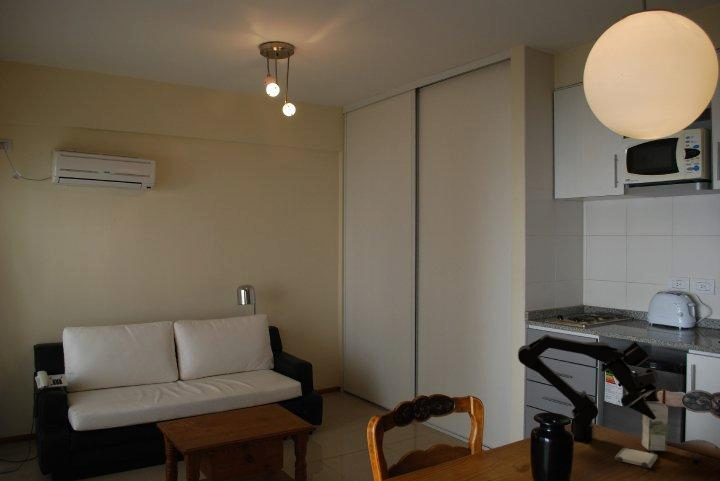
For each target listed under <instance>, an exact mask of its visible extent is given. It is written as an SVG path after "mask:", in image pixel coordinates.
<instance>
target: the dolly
mask: <svg viewBox="0 0 720 481" xmlns="http://www.w3.org/2000/svg"><path fill="white" fill-rule="evenodd" d="M657 459H658V454H656V452H655V451H649V452H646V451H641V450H636V449H632V447H630V446H626V447H622V448H621V449H620V451H618V452H617V454H616V455H615V456H614V460H615V461H617V463H622V462H623V463H628V464H631V465H636V466H641V467H642V468H644V469H647V468H650V469H651V468H652V466H653V465H654V464H655V462H656V460H657Z"/></svg>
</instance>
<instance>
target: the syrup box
mask: <svg viewBox="0 0 720 481" xmlns="http://www.w3.org/2000/svg"><path fill="white" fill-rule="evenodd" d="M646 403H647V405H648V406H649V408H650V409H651V410H652V412H653V413H654V415H655V417H656V419H654V420H653V419H651V418H649V417H647V416H645V415H643V414H642V413H641V416H642V417H641V418H642V419H641V422H642V423H641V445H642V446H643V447H644V448H645V449H646V450H648V451H649V452H667V449H668V447H667V446H668V419H669V418H668V416H669V415H668V414H669V407H668V406H667V405H666V404H664V402H661V401H659V402H648V401H646Z"/></svg>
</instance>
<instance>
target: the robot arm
mask: <svg viewBox="0 0 720 481" xmlns="http://www.w3.org/2000/svg"><path fill="white" fill-rule="evenodd" d="M548 349H553V350H559V351H563V352H569V353H574V354H580V355H583V356H587V357H589V358H592V359H594V360H597V361H598V362H602V363H601V372H602V373H605V372H607V371H609V373H611V375H612V376H613V377H614V379H615V380H616V381H617V382H618V383H617V385H618V386H619V388H620V387H622V388H623V389H624V390H625V392H626V394H625V395H624V396H622V397H621V398H620V399H621V400H620V402H621V404H622V406H623V407H624V408H626V407H628V408H629V409H632V410H633V411H636V412H638V413H640V414H641V415H642V414H643V415H645V416H647V417H649V418H651V419H653V420H654V419H656V417H655V415H654V413H653V412H652V410H651V409H650V408H649V406H648V405H647V403H646V401H648V402H660V399H659V397H658V391H659V389H658V388H659V387H660V386H659V384H658V383H657V382H658V381H660V377H659V375H660V373H659V372H658V371H657V370H655V369H654V368H652V367H651V368H648V369H646V370H645V373H643V374H640V373H639V372H637V371H635V372H634V371H633V370H632V369H631V368H630V367H638V366H640V365H641V364H643V363H644V362H645V361H646V360H648V359H649V358H650V357H651V356H650V354H648V352H647V351H646V350H645V349H644V348H643V347H641V346H640V344H638V342H637V341H635V340H633V341H631V342H630V344H629V345H627V346H626V347H625V348H622V349H620V348H617V347H613V346H611V345H610V343H608V342H605V341H601V342H600V341H590V342H589V341H588V342H584V341H579V340H573V339H568V338H562V337H556V336H551V335H550V334H544V335H543V336H541V337H540V338H538V339H537V340H534V341H533V342H531V343H529V344H528V345H527V344H525V345H521V346H520V347H519V348H518V351H517V359H518V361H519V362H520V364H522V365H523V366H525V367H527V368H528V369H529V370H532V371H534V372H536V373H538V374H539V375H540V376H541V377H543V378H544V380H546V381H547V382H548V383H549V384H550V385H552V387H554V388H555V389H556V390H557V391H558V392H559V393H561V394H562V395H563V396H564V397H565V398H567V400H568V401H570V402H571V404H572V405H573V407H574V408H573V409H571V413H572V418H571V420H572V423H571V422H570V433H571V432H572V433H573V435H574V440H573V441H576V442H581V443H585V444H589V443H590V442H592V441H593V440H594V439H595V426H593V420H594V419H596V418H597V416H599V408H598V406H597V404H596V400H595V399H594V397H592V396H590V395H589V393H587V392H586V391H585V390H583V391H582V392H580V391H578V390H577V389H575V388H574V387H573V386H572V385H570V384H569V383H568V382H567V381H566V380H565V379H564V378H562V377H561V376H560V375H559V374H558V373H556V371H554V370H553V369H552V368H551V367H550V366H549V365H547V363H545V362H544V361H543V359H542V358H541V357H540V356H541V355H542V354H543V353H545V352H546V351H547V350H548ZM623 359H624V360H625V361H624V360H623ZM626 362H627V363H628V364H627V363H626ZM628 365H629V366H630V367H629V366H628Z"/></svg>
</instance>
